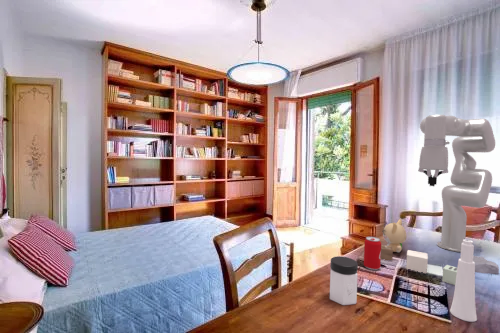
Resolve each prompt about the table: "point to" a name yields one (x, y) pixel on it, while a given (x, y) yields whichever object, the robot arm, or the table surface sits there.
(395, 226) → the kitten
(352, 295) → the jar
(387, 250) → the walnut cube
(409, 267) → the cream block
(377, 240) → the beverage can
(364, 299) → the table surface
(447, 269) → the sage cube
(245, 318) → the table surface
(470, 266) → the cosmetic bottle
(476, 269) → the stone block
